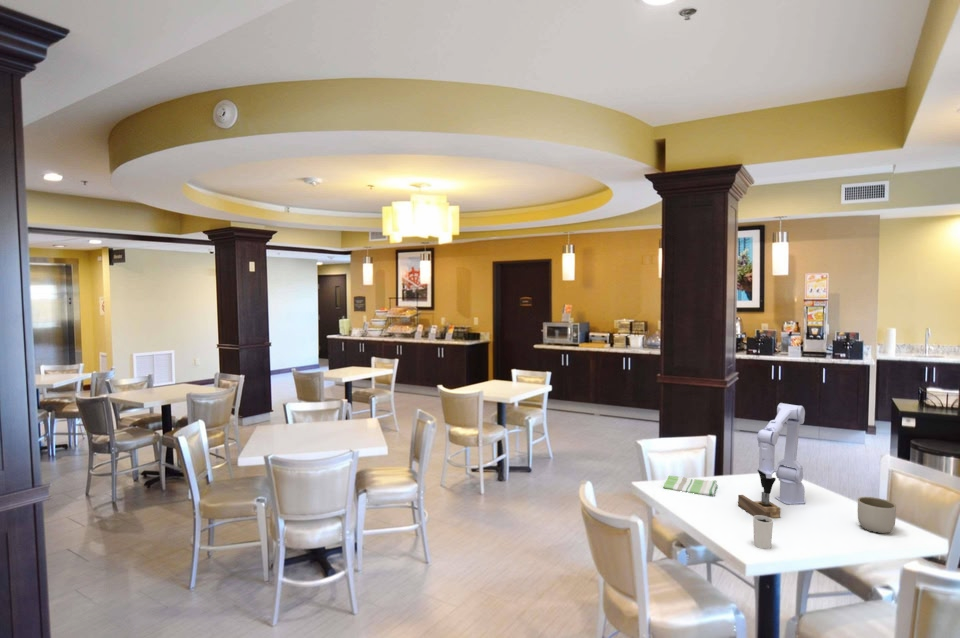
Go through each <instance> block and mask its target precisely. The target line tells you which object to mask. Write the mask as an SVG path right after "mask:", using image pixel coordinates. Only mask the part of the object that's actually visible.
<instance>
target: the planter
mask: <svg viewBox="0 0 960 638" xmlns="http://www.w3.org/2000/svg"><path fill="white" fill-rule="evenodd" d="M896 516H897V505H896V503H894V502H892V501H889V500H887V499H884V498H883V499H882V498H878V497H871V496H861V497H858V498H857V520H858V523H859V525H860V526H861V527H862V528H863V529H865V530H867V531H869V530H870V532H872V531H873V532H872V533H876V532H878V533H877V534H889V533H891V532H893V530H894V529H895V525H896V520H897V519H896Z"/></svg>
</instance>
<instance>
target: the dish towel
mask: <svg viewBox="0 0 960 638" xmlns="http://www.w3.org/2000/svg"><path fill="white" fill-rule="evenodd" d="M717 482H718V480H714V479H713V480H710V479H709V480H705V479H696V478H695V479H694V478H688V477H685V476H684V477H683V476H677V475H668V477H667V480H666V482H664V485H663V486H662V487H663V488H662V489H664V490H668V491H669V490H671V491H676V492H680V491H682V492H681V493H687V492H688V493H689V494H693V493H694V494H693V495H701V496H707V497H708V496H709V497H715V496H716V493H717V489H718V485H719V484H718V483H717Z"/></svg>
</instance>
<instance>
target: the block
mask: <svg viewBox="0 0 960 638" xmlns="http://www.w3.org/2000/svg"><path fill="white" fill-rule="evenodd" d="M752 501H753V502H755V503H757V504H758V505H760V506H761V507H763V506H762V505H761V501H759V500H756V501H754V500H752ZM763 508H765V509H766V510H768V511H769V512H770V518H772V519H774V518H776V519H778V518H781V507H780V506H778V505H776V504H774V503H773V502H771V501H770V500H769V507H763Z"/></svg>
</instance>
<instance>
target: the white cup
mask: <svg viewBox="0 0 960 638" xmlns="http://www.w3.org/2000/svg"><path fill="white" fill-rule="evenodd" d="M752 520H753V523H752V524H753V545H754V547H757V548H760V549H763V550H768V549H771V548H772V538H773V528H774V518H770V517H767V516H762V515H756V516H752Z"/></svg>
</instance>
